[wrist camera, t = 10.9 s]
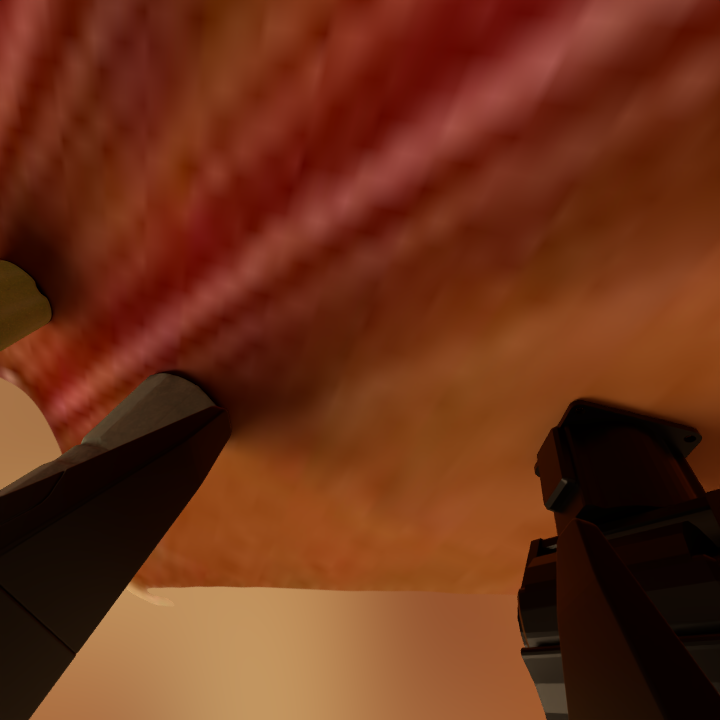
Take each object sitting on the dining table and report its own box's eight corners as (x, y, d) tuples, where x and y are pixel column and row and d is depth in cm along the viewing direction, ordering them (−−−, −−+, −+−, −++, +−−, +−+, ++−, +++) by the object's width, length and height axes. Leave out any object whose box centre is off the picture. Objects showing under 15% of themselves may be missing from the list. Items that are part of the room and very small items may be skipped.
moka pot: (132, 416, 37) (-147, 634, 21) (162, 319, 27) (-300, 572, 11) (207, 469, 37) (-5, 716, 21) (259, 391, 28) (-42, 720, 12)
